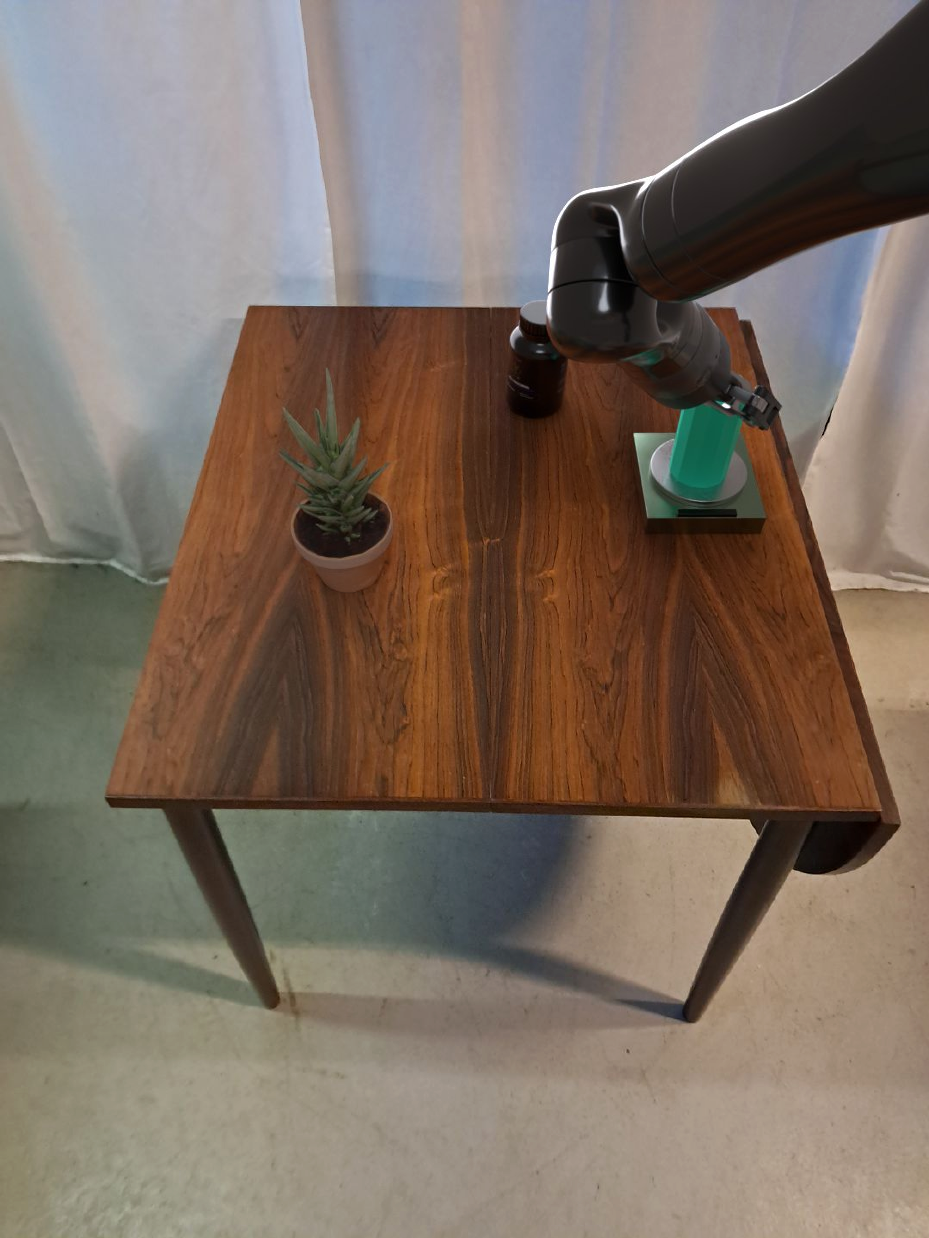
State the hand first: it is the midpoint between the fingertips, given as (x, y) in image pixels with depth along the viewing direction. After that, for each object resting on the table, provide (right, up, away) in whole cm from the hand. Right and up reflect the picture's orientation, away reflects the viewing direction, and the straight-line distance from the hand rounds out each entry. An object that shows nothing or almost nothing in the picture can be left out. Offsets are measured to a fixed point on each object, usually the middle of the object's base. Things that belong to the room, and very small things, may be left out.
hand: (717, 398), depth 86 cm
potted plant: (-36, -17, +3) cm, 40 cm away
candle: (0, -6, +8) cm, 9 cm away
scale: (0, -7, +10) cm, 12 cm away
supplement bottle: (-16, +4, +19) cm, 26 cm away
